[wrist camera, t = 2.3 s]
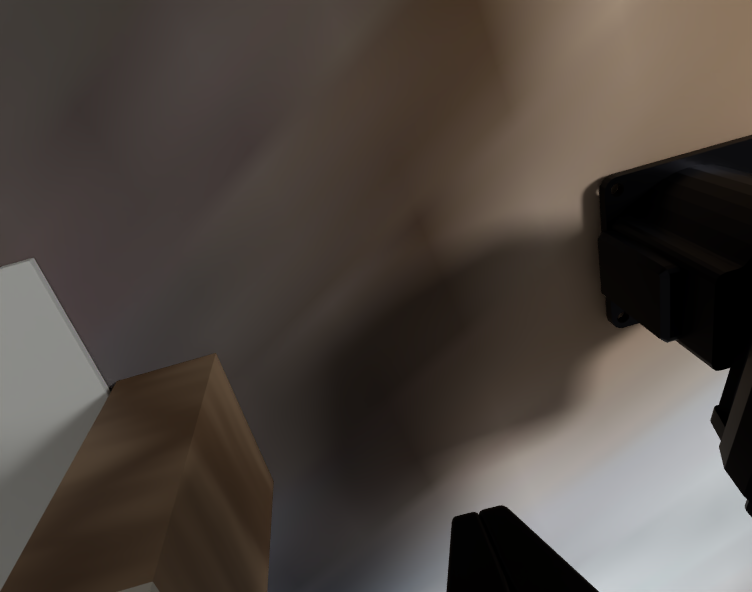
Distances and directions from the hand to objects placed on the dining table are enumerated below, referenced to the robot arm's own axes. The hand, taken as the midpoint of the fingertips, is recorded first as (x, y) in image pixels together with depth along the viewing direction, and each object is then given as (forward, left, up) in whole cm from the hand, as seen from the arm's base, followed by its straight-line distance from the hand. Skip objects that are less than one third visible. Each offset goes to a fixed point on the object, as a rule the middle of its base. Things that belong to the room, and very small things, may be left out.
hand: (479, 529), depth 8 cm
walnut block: (+9, +6, -13) cm, 17 cm away
